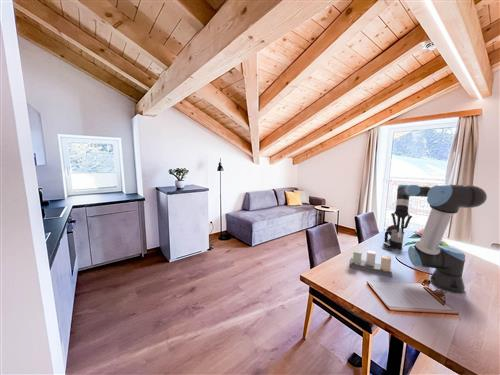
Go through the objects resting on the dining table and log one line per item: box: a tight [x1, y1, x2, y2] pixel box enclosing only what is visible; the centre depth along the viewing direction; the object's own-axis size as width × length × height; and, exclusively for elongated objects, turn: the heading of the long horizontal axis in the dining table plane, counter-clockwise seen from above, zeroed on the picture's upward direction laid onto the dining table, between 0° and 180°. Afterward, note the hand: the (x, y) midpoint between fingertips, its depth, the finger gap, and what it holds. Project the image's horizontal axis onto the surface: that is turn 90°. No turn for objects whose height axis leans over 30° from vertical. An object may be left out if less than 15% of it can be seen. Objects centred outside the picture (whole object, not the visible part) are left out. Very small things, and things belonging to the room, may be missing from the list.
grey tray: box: [349, 257, 394, 278], centre depth 146 cm, size 12×25×3 cm, turn 62°
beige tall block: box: [380, 255, 392, 271], centre depth 139 cm, size 4×5×9 cm
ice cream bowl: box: [385, 224, 397, 241], centre depth 197 cm, size 11×11×15 cm
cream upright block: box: [365, 249, 377, 266], centre depth 147 cm, size 4×5×9 cm
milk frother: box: [383, 230, 405, 251], centre depth 179 cm, size 14×16×15 cm
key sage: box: [352, 249, 363, 265], centre depth 147 cm, size 4×5×9 cm
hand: (399, 237), depth 152 cm, fingers closed
